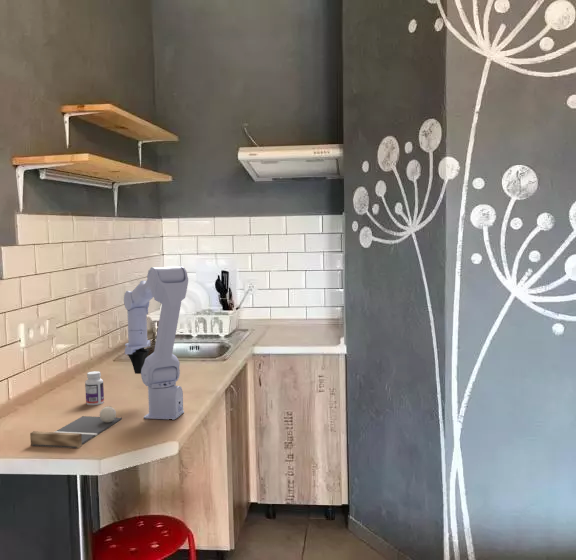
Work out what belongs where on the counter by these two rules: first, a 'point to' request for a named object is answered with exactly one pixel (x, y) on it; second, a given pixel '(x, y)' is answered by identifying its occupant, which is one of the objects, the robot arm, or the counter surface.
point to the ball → (107, 414)
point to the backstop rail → (56, 439)
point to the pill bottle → (94, 388)
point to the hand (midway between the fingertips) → (138, 373)
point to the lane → (85, 428)
